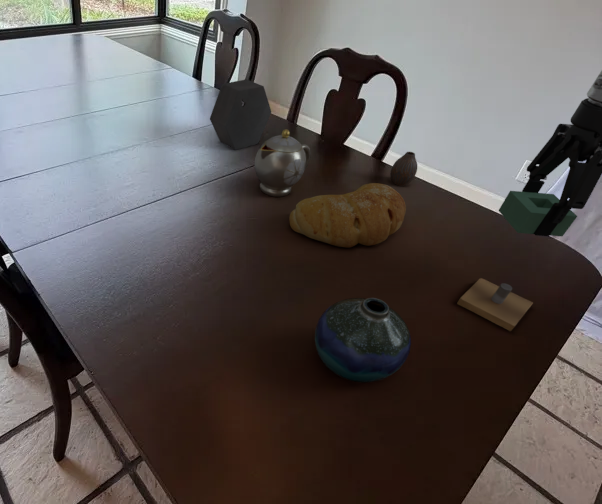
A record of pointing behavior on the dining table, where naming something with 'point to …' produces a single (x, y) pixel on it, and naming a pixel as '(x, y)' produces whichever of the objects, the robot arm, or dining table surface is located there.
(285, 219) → the dining table surface
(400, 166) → the vase
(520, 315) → the wooden peg base
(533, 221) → the green block with hole
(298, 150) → the teapot
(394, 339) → the vase
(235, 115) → the planter
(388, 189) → the bread
